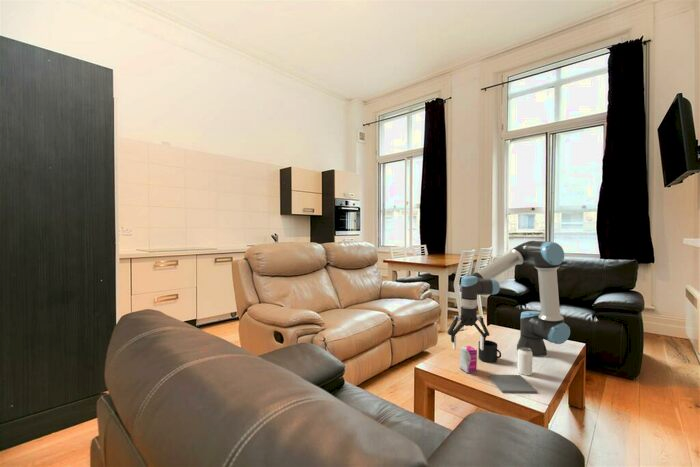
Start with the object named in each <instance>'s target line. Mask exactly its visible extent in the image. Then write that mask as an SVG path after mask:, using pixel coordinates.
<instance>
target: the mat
mask: <svg viewBox="0 0 700 467" xmlns="http://www.w3.org/2000/svg"><path fill="white" fill-rule="evenodd" d="M488 378H489V379H490V380H491V381H492V382H493V384H494V385H495V386H496V387H497V389H499V391H500V392H501V393H503V394H504V393H505V394H508V393H509V394H538V389H536V388H535V387H534V386H533V385H532V384H530V383H529V381H527V380H526V379H525V378H524V377H523V375H522V374H488Z"/></svg>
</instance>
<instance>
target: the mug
mask: <svg viewBox="0 0 700 467" xmlns="http://www.w3.org/2000/svg"><path fill="white" fill-rule="evenodd" d="M498 354H499V355H498ZM501 357H502V353H501V351H500V350H499V349H498V343H497V342H495V341H492V340H487V339H485V343H484V346H483V350H481V349H480V340H479V341H478V354H477V359H479V360H480V361H481V362H484V363H489V364H491V363H492V364H493V363H497V362H498V359H500V358H501Z"/></svg>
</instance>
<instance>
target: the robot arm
mask: <svg viewBox="0 0 700 467" xmlns="http://www.w3.org/2000/svg"><path fill="white" fill-rule="evenodd" d="M564 259H565V252H564V248H563V247H562V246H561V245H560V244H559V243H558V242H557V243H556V242H554V241H553V242H552V241H547V240H546V241H544V240H543V241H542V240H538V241H537V240H529V241H526V242H523V243H521V244H518V245H517V246H515V247H513V248H511V249H510V250H509V252H508V253H506V254H505V255H503V256H501V257H500V258H498V259H496V260H494V261H493V262H491V263H489V264H488V265H486V266H484V267H482V268H481V269H479V270H477V271H476V272H474V273H472V274H464V275H463V276H462V277H461V279H460V281H461V282H460V284H461V292H460V293H461V295H460V306H461V307H460V316H457V315H454V316H453V320H452V323H451V324H450V326H449V327H448V328H449V329H448V330H447V334H448V335H449V336H450V341H451V343H452V348H453V350H455V351H456V350H457V336H456V335H457V334H458V333H459V332H460V330H462V329H463V327H464V326H465V327H469V326H470V327H472V326H474V328H476V330H477V331H478V333H480V336H479V341H480V349H481V350H483V346H484V343H485V340H486V339H487V337H489V336H490V332H489V330H488V328H487V326H486V324H485V322H484V317H482V316H481V315H480V316H478V310H477V309H478V296H481V295H483V296H486V295H490V296H492V295H497V294H498V293H499V292H500V290H501V289H500V283H499V281H497V279H495V278H497V277H498V276H500V275H502V274H504V273H505V272H506V271H509V270H510V269H512V268H513V267H515V266H517V265H523V264H524V263H527V262H532V263H533V266H534V268H535V269H536V270H537V275H538V276H537V277H538V288H539V290H538V291H539V301H540V302H539V303H540V311H538V310H537V311H535V310H525V311H522V312H521V313H520V318H519V319H520V321H519V322H520V332H519V333H520V337H519V339H518V341H517V344H516V350H517V351H518V349H519V347H527V348H530V349H531V351H532V357H544V356H546V355H547V352H548V351H547V347H546V344H545V342H544V341H547V342H549V343H550V344H551V343H552V344H555V345H562V344H564V343H566V342H567V340H568V339H569V338H570V335H571V329H570V328H571V327H570V326H569V325H568V324H567V323H565V319H564V316H563V315H562V314H561V312H560V309H561V308H560V298H559V297H560V296H559V284H558V283H559V282H558V273H557V270H558V269H559V268H560V267H561V266H560V265H561V264H562V263H563V260H564ZM459 321H460V322H459ZM477 321H478V322H479V323H480V326H481V327H482V329H483V330H482V329H481V327H480V326H479V325H478V323H476V322H477ZM458 322H459V324H458ZM457 324H458V325H457Z"/></svg>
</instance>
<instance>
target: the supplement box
mask: <svg viewBox="0 0 700 467" xmlns="http://www.w3.org/2000/svg"><path fill="white" fill-rule="evenodd" d="M459 357H460V359H459V360H460V363H459V369H460V370H461V371H463V372H465V373H466V374H471V373H477V368H478V367H477V365H478V364H477V363H478V360H477V359H478V349H476V348H475V347H473V346H471V345H467V346H466V345H465V346H460V356H459Z"/></svg>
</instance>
